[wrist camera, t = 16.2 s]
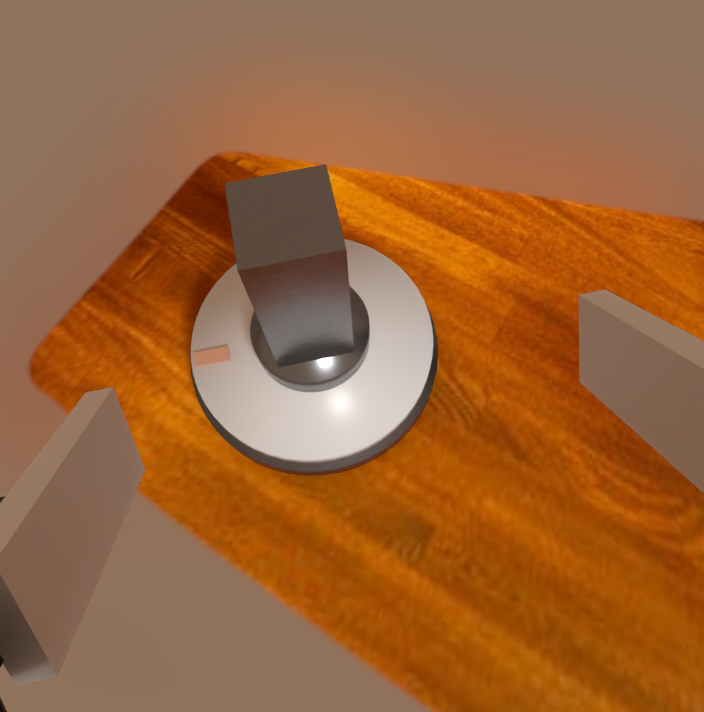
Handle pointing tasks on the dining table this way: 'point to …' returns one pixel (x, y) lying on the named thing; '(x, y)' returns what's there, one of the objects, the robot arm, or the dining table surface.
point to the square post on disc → (297, 279)
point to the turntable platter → (326, 408)
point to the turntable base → (342, 463)
